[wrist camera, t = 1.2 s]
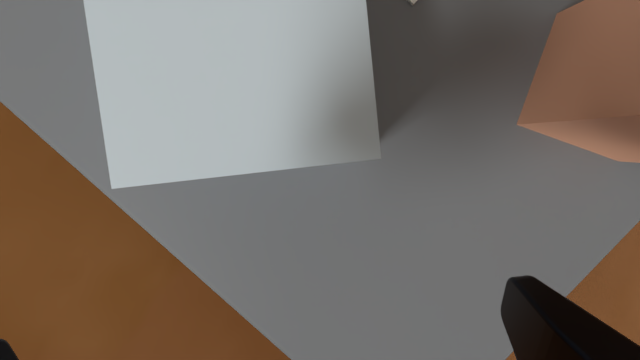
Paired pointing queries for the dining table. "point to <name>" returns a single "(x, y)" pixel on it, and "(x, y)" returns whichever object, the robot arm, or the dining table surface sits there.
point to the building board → (366, 187)
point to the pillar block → (590, 80)
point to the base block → (231, 86)
